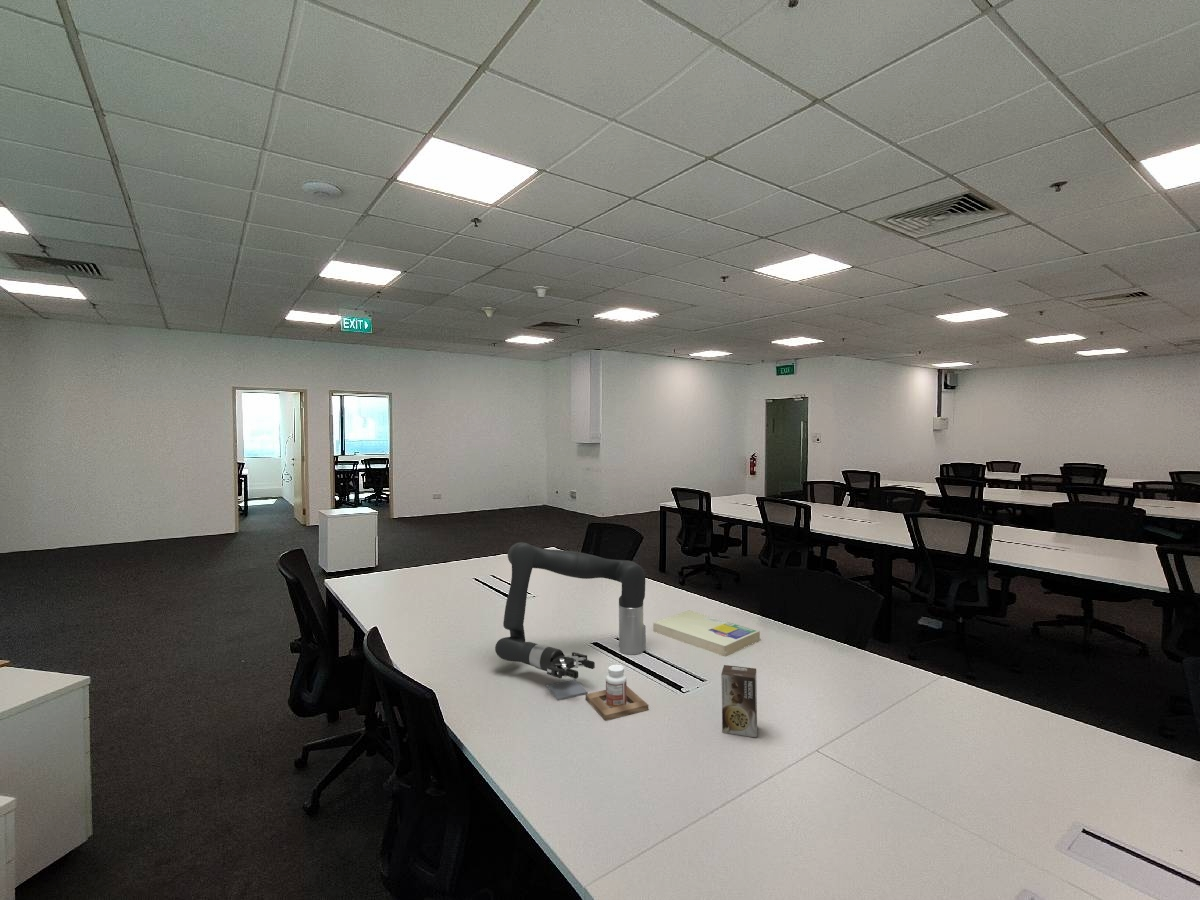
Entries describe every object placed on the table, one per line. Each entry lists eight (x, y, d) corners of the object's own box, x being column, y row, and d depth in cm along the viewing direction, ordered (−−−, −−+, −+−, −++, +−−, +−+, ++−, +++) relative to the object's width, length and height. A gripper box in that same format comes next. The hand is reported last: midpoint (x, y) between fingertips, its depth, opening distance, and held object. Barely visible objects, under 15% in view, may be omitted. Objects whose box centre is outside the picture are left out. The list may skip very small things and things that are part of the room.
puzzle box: (689, 620, 237) (652, 632, 221) (689, 609, 237) (652, 621, 221) (761, 642, 210) (724, 658, 194) (761, 631, 210) (724, 646, 194)
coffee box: (757, 726, 147) (757, 668, 146) (756, 738, 140) (756, 677, 140) (723, 720, 150) (723, 663, 149) (721, 732, 143) (721, 673, 143)
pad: (575, 680, 175) (575, 679, 175) (587, 693, 166) (587, 691, 166) (546, 686, 171) (546, 685, 171) (557, 700, 162) (557, 698, 162)
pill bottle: (615, 697, 164) (615, 661, 164) (630, 704, 159) (630, 667, 159) (601, 704, 159) (601, 667, 159) (617, 711, 155) (617, 673, 155)
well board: (626, 690, 169) (626, 685, 169) (648, 709, 156) (648, 704, 156) (585, 699, 163) (585, 694, 163) (605, 720, 150) (605, 715, 150)
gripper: (531, 654, 169) (572, 666, 160) (560, 640, 181) (599, 651, 171) (531, 677, 169) (572, 691, 160) (560, 662, 181) (599, 674, 171)
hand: (586, 670), depth 166 cm, fingers open, 8 cm apart
